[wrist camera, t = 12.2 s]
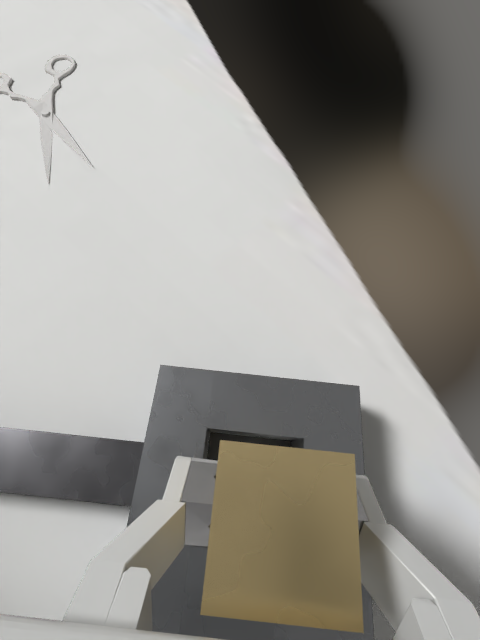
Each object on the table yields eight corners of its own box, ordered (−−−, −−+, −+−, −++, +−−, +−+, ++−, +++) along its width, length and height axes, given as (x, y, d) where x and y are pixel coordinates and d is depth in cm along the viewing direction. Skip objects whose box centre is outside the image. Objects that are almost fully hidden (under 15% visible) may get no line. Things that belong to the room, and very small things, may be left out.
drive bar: (290, 532, 13) (363, 632, 6) (217, 524, 13) (200, 614, 6) (292, 453, 15) (354, 453, 7) (225, 445, 15) (219, 440, 7)
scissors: (65, 45, 34) (128, 154, 28) (68, 53, 35) (131, 162, 28) (-35, 68, 32) (6, 194, 25) (-30, 77, 33) (12, 201, 26)
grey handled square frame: (344, 614, 15) (375, 657, 12) (-210, 552, 16) (-322, 578, 13) (338, 396, 20) (359, 385, 17) (-95, 350, 20) (-157, 331, 17)
